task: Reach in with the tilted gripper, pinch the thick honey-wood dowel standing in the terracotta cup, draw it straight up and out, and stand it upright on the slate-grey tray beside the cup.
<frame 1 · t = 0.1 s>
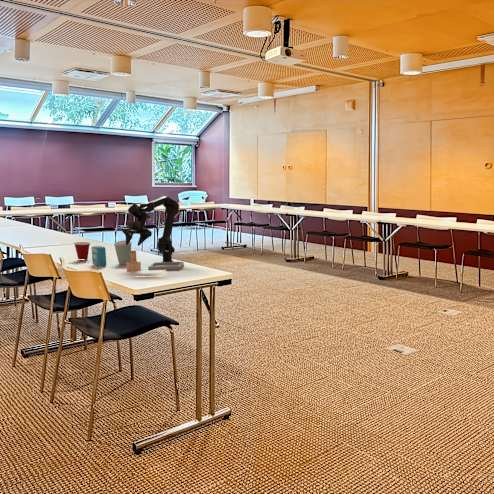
hand: (132, 245, 318), 15 cm above the table, tool tilted 35°, fingers open, 9 cm apart
dowel: (133, 269, 317), point 1 cm above the table, touching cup
tray: (166, 268, 322), on the table
plastic cup: (83, 260, 368), on the table
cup: (134, 270, 317), on the table
data package: (99, 265, 342), on the table
disposable coffee cup: (124, 265, 340), on the table
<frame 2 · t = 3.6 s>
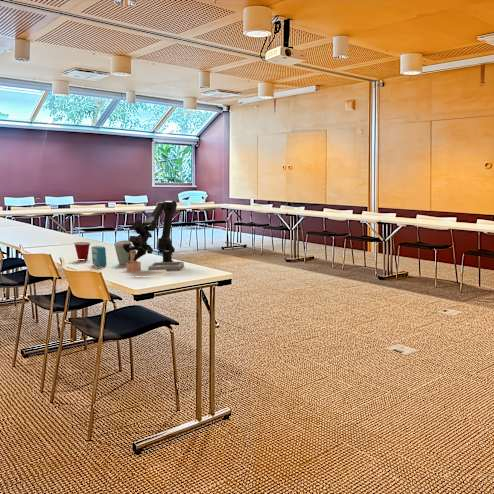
hand: (131, 260, 315), 7 cm above the table, tool tilted 45°, fingers closed on dowel, 4 cm apart
dowel: (133, 269, 317), point 1 cm above the table, touching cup, gripper
everything else where it was.
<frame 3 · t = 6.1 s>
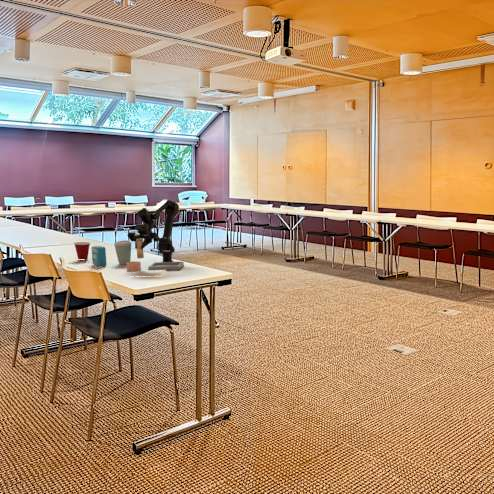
hand: (138, 248, 314), 13 cm above the table, tool tilted 45°, fingers closed on dowel, 4 cm apart
dowel: (140, 257, 316), point 8 cm above the table, touching gripper
everything else where it was.
when the fingers open (8 cm above the table, at t = 8.5 s): dowel drops 1 cm, resting on tray.
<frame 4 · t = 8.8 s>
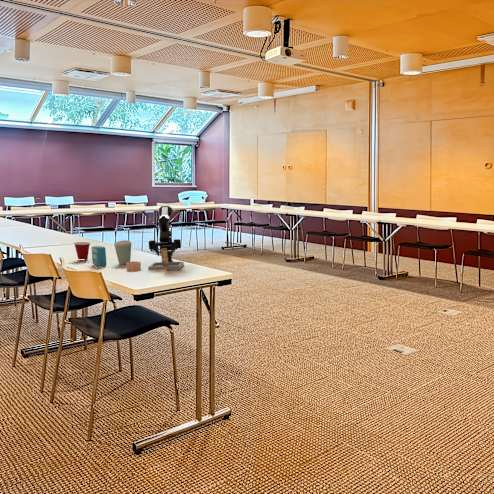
hand: (165, 255, 318), 8 cm above the table, tool tilted 45°, fingers open, 7 cm apart
dowel: (165, 267, 320), point 1 cm above the table, touching tray
everything else where it was.
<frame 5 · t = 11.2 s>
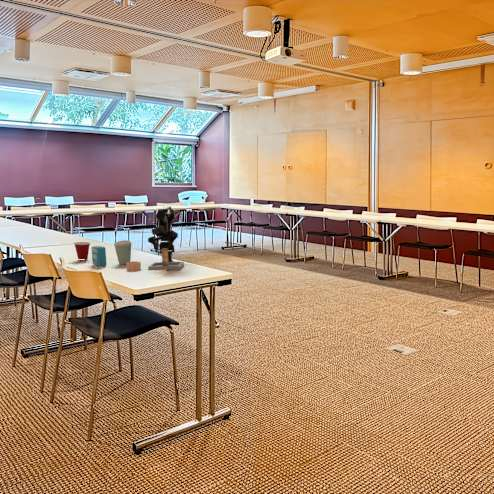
hand: (162, 250, 326), 10 cm above the table, tool tilted 30°, fingers open, 9 cm apart
nothing on the table moved.
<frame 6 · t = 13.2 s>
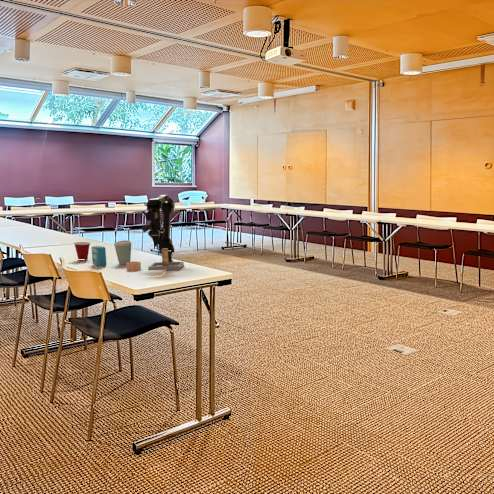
hand: (157, 245, 327), 13 cm above the table, tool pointing down, fingers open, 9 cm apart
nothing on the table moved.
at the end: dowel inside the target area on the tray (2.0 cm from its centre), point 1.0 cm above the tray's base; dowel tilted 0°; the gripper is holding nothing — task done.
